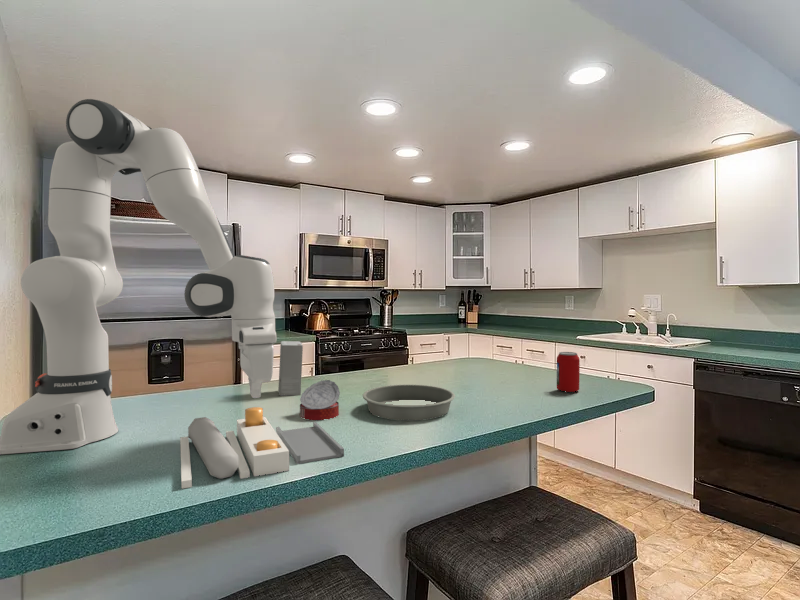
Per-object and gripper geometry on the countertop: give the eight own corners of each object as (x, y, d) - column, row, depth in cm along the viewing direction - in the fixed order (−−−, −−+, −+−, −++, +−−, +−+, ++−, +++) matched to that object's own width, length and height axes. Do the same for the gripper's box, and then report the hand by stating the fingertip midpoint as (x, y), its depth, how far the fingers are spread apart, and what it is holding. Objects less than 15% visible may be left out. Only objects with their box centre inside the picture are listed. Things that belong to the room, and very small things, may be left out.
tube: (247, 454, 80) (217, 419, 101) (216, 450, 77) (192, 414, 98) (237, 486, 79) (209, 443, 100) (205, 482, 76) (183, 439, 98)
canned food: (340, 432, 120) (353, 400, 117) (306, 436, 113) (319, 403, 110) (320, 404, 128) (332, 374, 125) (287, 407, 121) (299, 375, 118)
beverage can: (564, 387, 151) (564, 351, 151) (583, 391, 146) (583, 353, 146) (552, 390, 147) (552, 352, 147) (572, 394, 142) (572, 355, 141)
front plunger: (258, 466, 83) (258, 447, 83) (255, 460, 86) (255, 441, 86) (279, 463, 84) (279, 444, 84) (275, 457, 88) (275, 438, 87)
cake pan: (347, 419, 116) (347, 401, 116) (380, 397, 140) (380, 382, 140) (444, 427, 109) (444, 408, 109) (462, 402, 133) (462, 387, 133)
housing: (181, 488, 75) (181, 467, 75) (180, 442, 97) (180, 426, 97) (289, 470, 82) (289, 450, 82) (265, 431, 105) (264, 416, 105)
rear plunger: (246, 428, 97) (246, 412, 97) (244, 424, 100) (244, 408, 100) (264, 426, 99) (264, 410, 99) (261, 422, 102) (261, 406, 102)
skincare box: (278, 390, 148) (277, 341, 147) (301, 389, 150) (300, 340, 150) (279, 396, 140) (279, 344, 139) (303, 395, 142) (303, 343, 142)
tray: (297, 464, 86) (297, 455, 86) (276, 433, 104) (276, 427, 104) (344, 456, 89) (343, 448, 89) (315, 428, 107) (315, 422, 107)
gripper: (232, 329, 107) (234, 389, 107) (244, 336, 89) (246, 409, 89) (261, 327, 110) (262, 386, 110) (278, 334, 91) (279, 404, 92)
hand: (255, 396), depth 99 cm, fingers closed
